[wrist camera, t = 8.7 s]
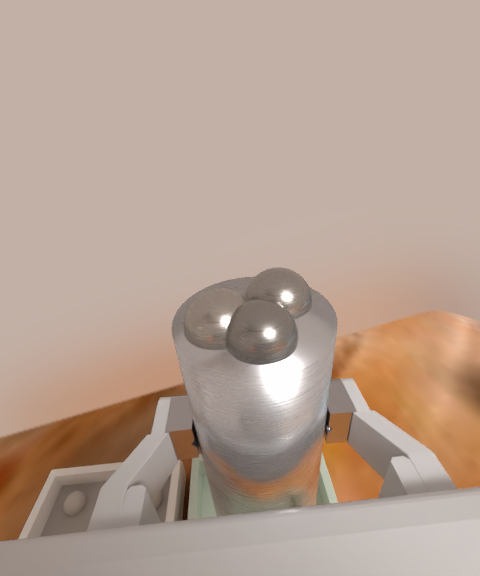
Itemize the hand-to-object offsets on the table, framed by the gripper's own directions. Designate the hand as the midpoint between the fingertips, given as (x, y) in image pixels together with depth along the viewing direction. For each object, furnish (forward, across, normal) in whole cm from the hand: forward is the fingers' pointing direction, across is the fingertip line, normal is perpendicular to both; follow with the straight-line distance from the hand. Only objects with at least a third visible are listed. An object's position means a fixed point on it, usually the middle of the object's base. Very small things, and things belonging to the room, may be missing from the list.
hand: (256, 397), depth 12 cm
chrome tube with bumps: (-1, 0, +6) cm, 6 cm away
